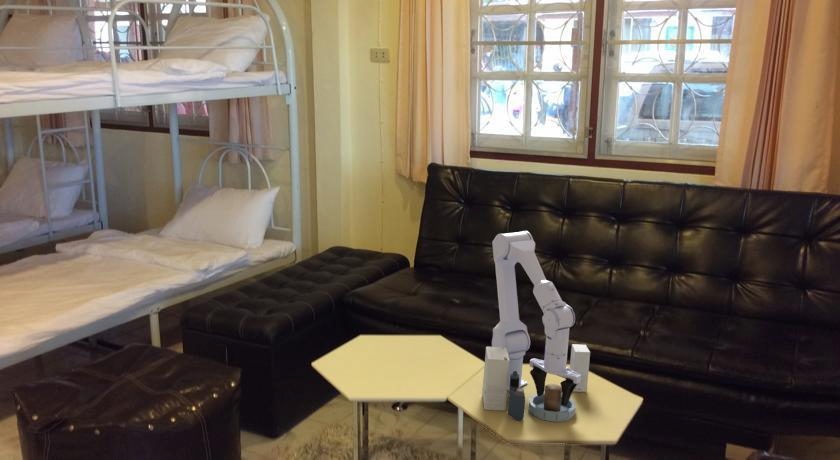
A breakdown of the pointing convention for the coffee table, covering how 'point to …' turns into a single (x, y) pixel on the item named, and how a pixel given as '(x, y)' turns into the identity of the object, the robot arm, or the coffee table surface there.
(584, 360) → the skincare box
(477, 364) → the coffee table surface
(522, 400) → the vaping device
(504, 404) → the skincare box
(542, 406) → the round tray
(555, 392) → the brown cylinder
